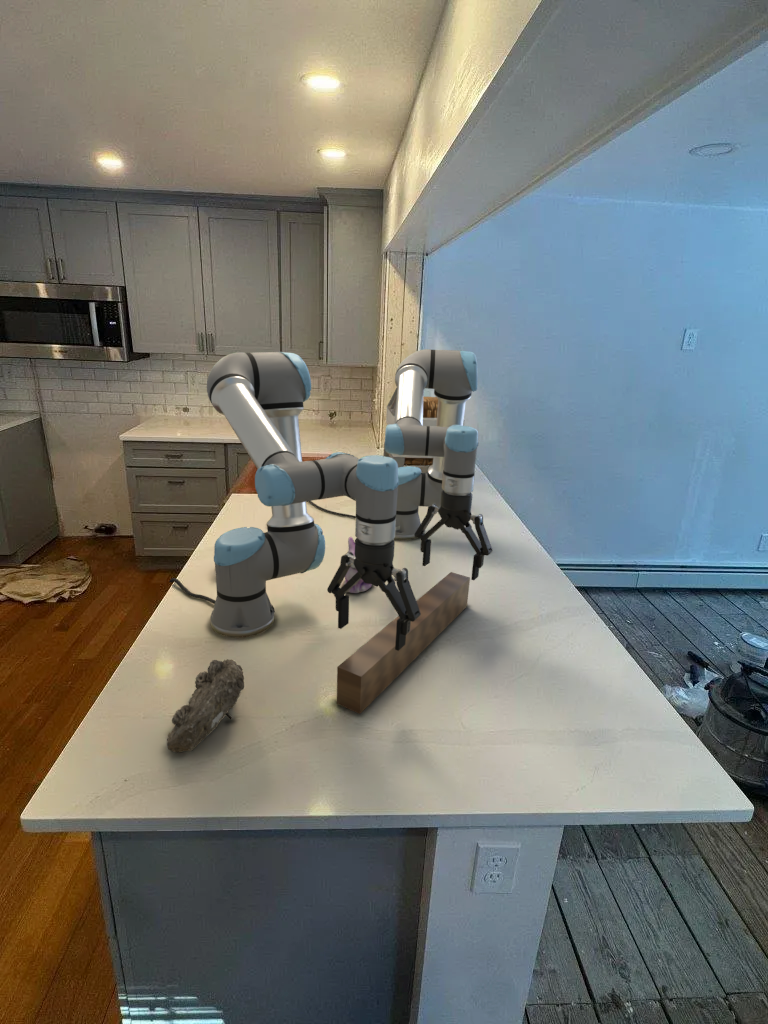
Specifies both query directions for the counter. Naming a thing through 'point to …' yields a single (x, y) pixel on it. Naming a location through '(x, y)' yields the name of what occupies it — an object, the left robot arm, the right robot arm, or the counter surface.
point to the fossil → (206, 705)
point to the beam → (383, 663)
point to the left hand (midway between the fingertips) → (370, 636)
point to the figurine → (352, 571)
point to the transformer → (428, 420)
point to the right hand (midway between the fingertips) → (449, 571)
